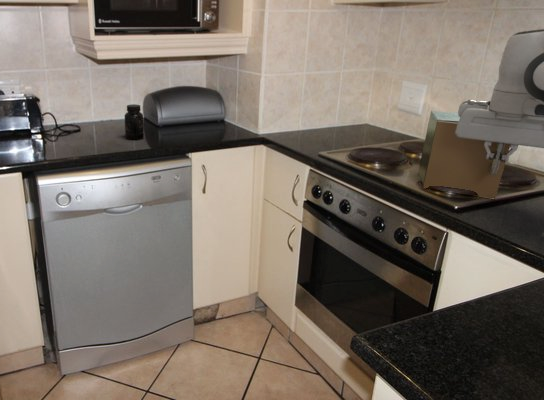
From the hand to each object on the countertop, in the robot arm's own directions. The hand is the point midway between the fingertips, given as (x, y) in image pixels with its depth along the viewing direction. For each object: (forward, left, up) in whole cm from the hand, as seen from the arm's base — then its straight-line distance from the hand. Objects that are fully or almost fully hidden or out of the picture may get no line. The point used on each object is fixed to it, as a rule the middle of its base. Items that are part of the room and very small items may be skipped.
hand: (496, 160), depth 116 cm
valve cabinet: (+5, -15, -12) cm, 20 cm away
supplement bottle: (+109, -28, -12) cm, 113 cm away
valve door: (+5, -4, -12) cm, 14 cm away
